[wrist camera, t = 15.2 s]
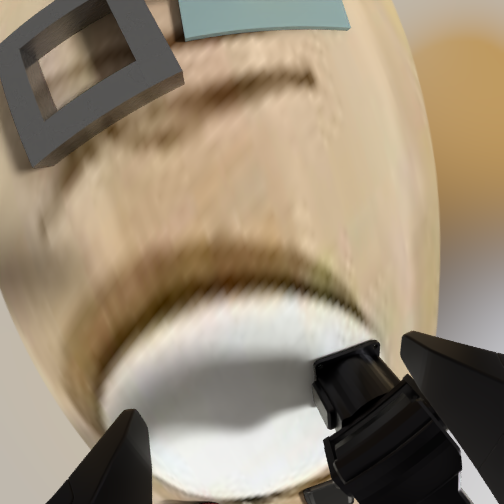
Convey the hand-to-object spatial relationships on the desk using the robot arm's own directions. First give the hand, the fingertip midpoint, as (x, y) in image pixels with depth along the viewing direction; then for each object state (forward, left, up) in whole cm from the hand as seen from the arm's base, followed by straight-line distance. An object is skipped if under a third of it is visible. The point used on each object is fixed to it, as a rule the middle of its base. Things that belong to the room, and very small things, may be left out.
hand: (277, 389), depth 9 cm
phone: (-6, +44, -14) cm, 46 cm away
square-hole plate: (+7, -16, -13) cm, 22 cm away
